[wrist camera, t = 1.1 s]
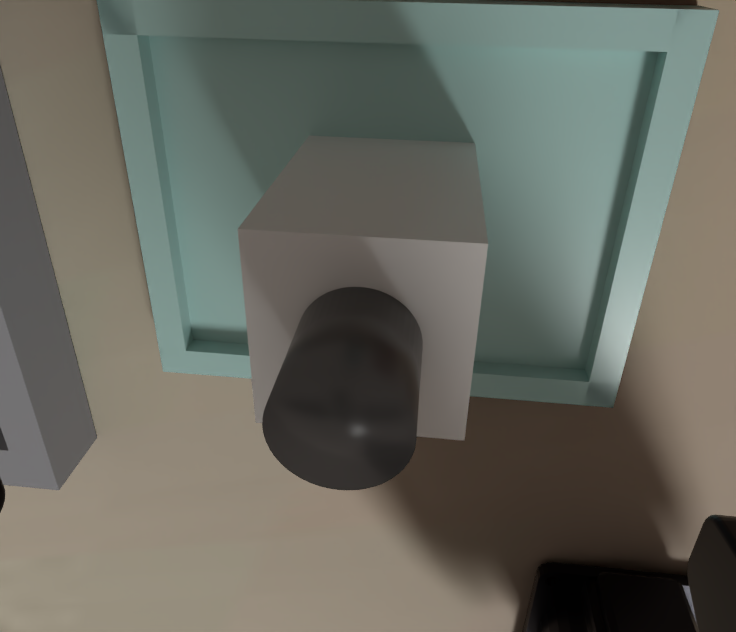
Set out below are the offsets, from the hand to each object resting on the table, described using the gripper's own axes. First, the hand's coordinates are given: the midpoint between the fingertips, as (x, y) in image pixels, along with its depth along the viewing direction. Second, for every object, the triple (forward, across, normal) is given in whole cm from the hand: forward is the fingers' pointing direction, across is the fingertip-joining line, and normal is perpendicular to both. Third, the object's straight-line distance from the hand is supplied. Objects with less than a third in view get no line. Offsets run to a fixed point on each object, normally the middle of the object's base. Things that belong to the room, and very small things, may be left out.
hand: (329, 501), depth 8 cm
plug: (+10, 0, 0) cm, 10 cm away
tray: (+10, 0, 0) cm, 10 cm away
